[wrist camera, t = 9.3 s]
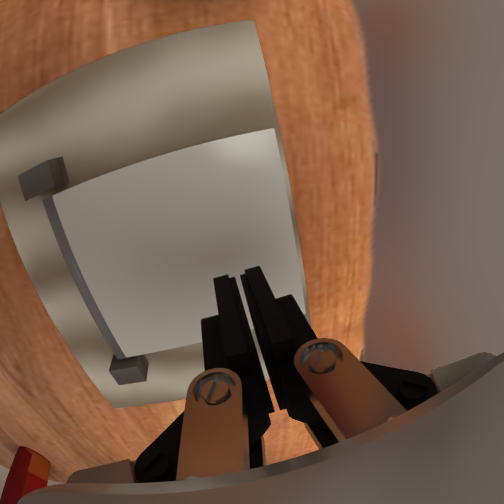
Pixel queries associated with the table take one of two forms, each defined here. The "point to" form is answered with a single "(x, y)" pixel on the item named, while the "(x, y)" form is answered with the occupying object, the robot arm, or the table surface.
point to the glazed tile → (176, 238)
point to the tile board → (121, 155)
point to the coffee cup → (25, 475)
